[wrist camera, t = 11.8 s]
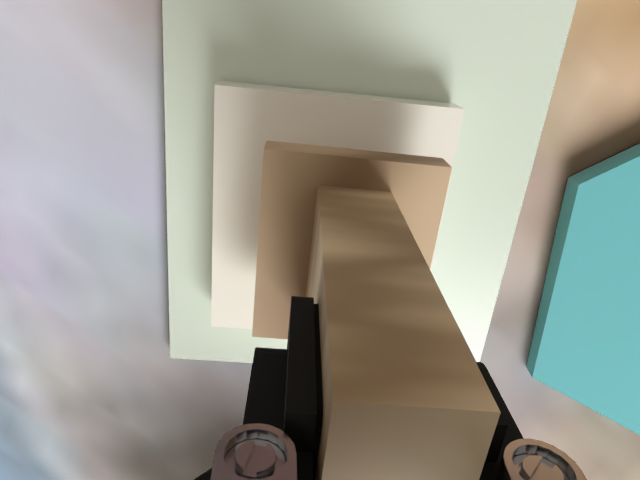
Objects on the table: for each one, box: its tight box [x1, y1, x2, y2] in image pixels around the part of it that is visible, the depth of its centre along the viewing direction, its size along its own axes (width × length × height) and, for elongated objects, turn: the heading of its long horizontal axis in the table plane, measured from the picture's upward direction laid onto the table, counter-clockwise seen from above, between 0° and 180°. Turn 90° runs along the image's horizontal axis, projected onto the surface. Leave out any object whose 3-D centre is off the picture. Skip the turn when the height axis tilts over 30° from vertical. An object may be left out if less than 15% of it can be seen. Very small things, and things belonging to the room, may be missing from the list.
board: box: [162, 0, 577, 363], centre depth 21 cm, size 15×18×1 cm
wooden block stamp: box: [252, 141, 501, 480], centre depth 13 cm, size 6×7×11 cm
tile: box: [211, 81, 465, 329], centre depth 21 cm, size 2×10×9 cm
